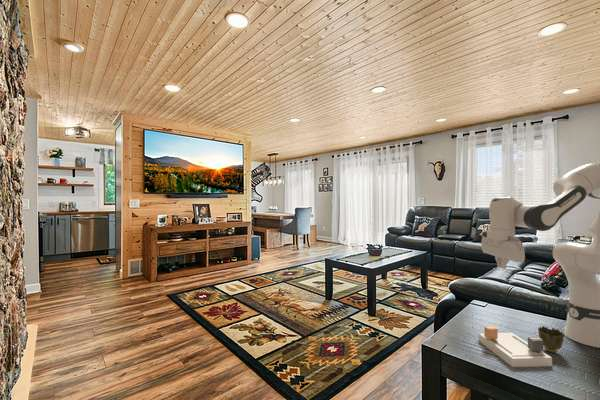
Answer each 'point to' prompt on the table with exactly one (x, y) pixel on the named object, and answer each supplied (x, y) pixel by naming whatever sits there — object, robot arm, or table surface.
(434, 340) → the table surface
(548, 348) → the cup
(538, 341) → the fader
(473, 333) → the table surface
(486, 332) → the fader
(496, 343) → the mixer console
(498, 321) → the table surface
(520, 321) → the table surface
